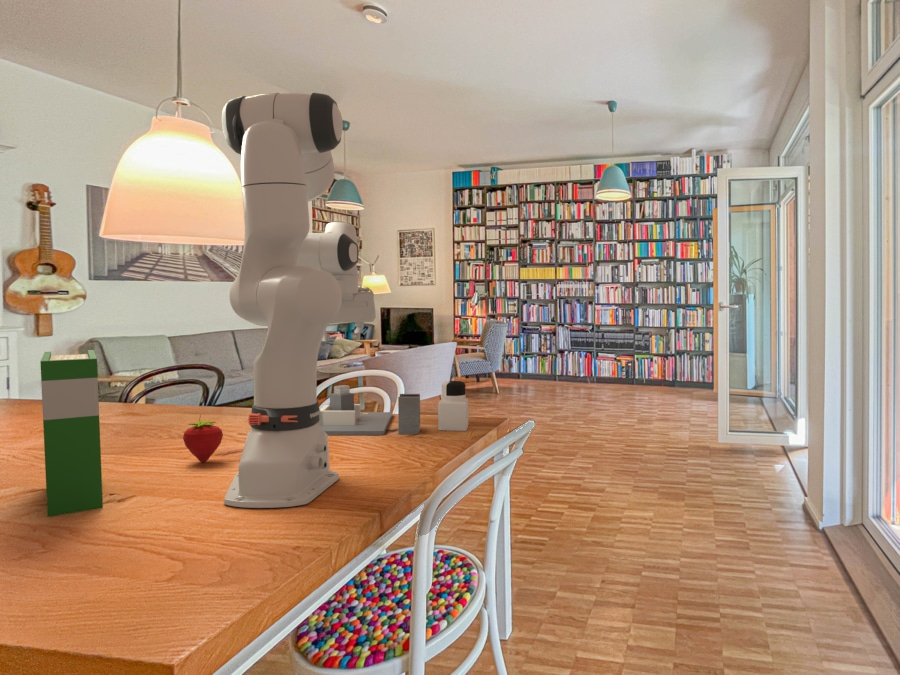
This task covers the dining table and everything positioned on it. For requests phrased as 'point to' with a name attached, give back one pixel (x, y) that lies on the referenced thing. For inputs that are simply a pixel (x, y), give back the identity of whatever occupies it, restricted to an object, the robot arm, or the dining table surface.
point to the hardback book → (71, 433)
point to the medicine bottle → (453, 407)
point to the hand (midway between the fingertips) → (341, 340)
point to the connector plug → (342, 399)
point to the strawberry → (202, 439)
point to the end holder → (353, 421)
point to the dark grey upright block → (409, 414)
